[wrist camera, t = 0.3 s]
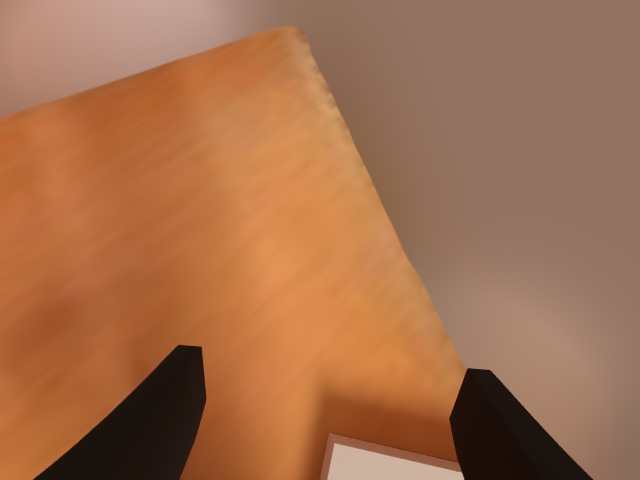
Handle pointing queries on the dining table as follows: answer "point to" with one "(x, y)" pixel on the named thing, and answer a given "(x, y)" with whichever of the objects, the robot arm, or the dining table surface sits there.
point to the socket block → (381, 462)
